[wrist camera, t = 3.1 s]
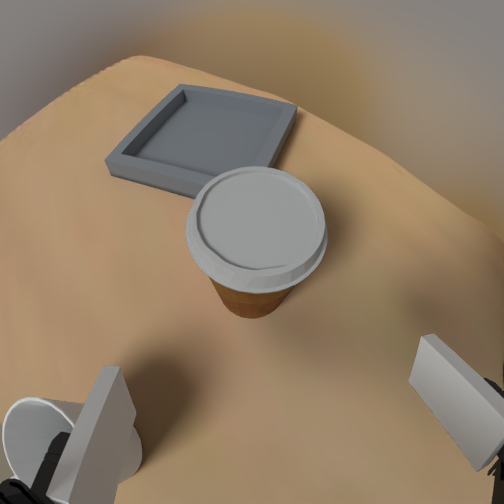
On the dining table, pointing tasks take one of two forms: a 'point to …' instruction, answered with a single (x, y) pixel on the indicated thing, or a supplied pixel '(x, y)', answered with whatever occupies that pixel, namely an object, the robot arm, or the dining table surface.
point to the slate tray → (201, 138)
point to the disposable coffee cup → (256, 236)
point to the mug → (49, 436)
